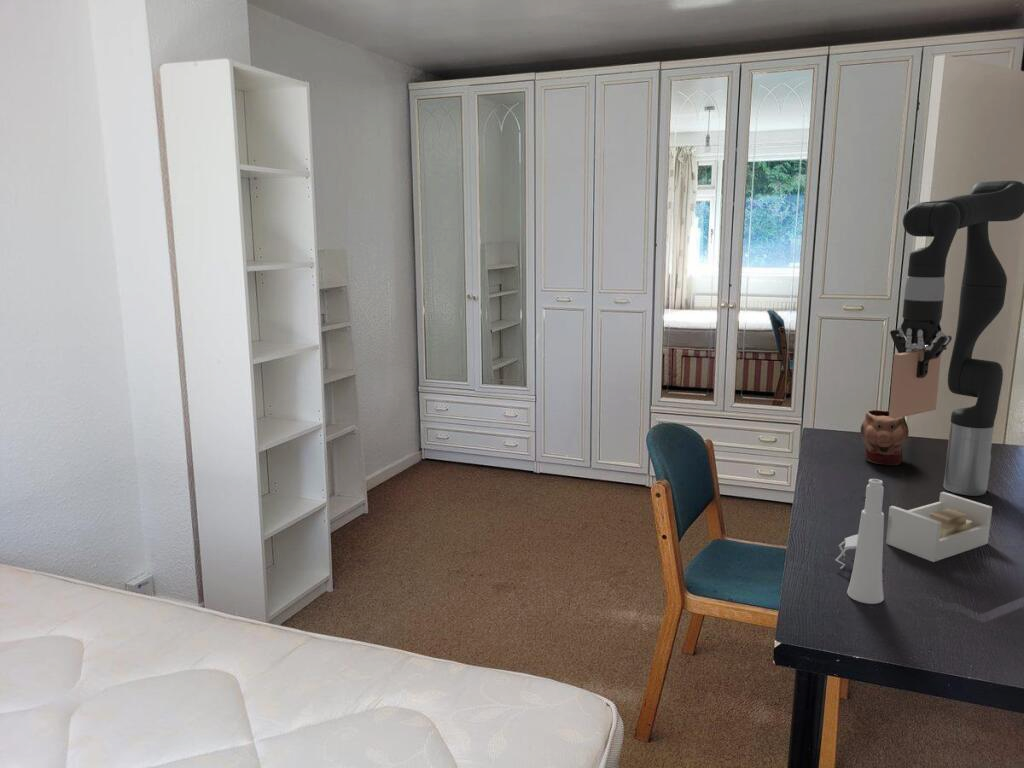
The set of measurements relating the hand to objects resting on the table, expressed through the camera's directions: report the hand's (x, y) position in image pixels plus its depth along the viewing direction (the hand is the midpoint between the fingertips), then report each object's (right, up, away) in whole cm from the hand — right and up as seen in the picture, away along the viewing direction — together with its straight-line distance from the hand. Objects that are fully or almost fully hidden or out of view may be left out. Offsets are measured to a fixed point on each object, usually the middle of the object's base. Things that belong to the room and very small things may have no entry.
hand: (915, 376), depth 169 cm
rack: (-1, -36, -10) cm, 37 cm away
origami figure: (-19, -37, -16) cm, 45 cm away
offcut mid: (+1, -32, -11) cm, 34 cm away
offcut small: (0, -30, -12) cm, 33 cm away
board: (0, -8, +2) cm, 8 cm away
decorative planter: (+16, -23, +50) cm, 57 cm away
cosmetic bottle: (-25, -40, -30) cm, 56 cm away
